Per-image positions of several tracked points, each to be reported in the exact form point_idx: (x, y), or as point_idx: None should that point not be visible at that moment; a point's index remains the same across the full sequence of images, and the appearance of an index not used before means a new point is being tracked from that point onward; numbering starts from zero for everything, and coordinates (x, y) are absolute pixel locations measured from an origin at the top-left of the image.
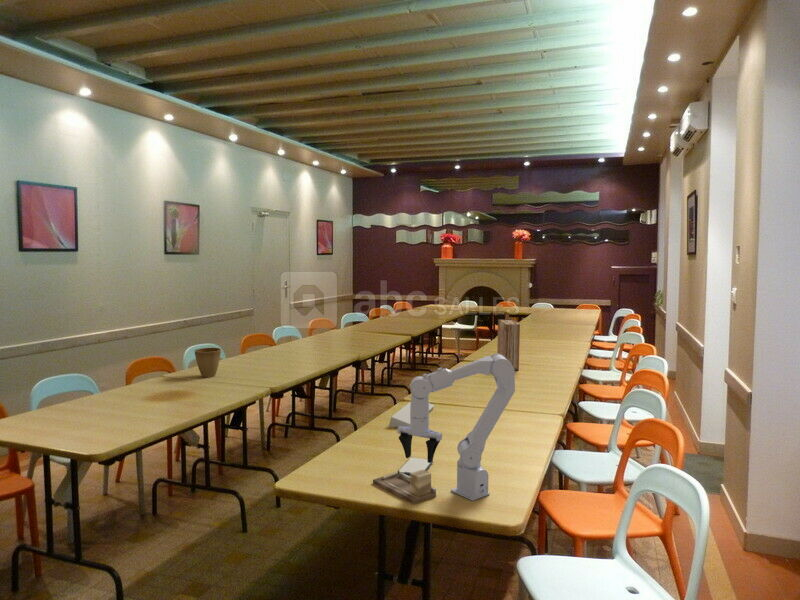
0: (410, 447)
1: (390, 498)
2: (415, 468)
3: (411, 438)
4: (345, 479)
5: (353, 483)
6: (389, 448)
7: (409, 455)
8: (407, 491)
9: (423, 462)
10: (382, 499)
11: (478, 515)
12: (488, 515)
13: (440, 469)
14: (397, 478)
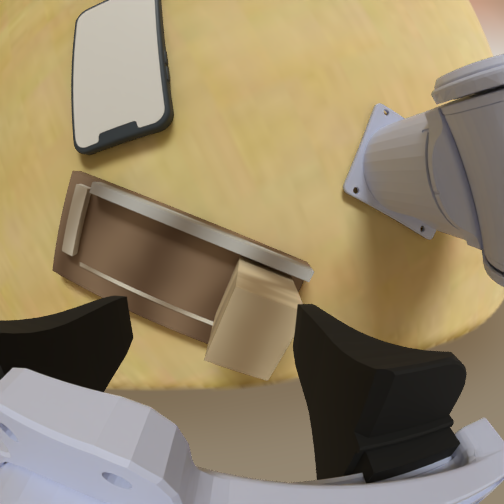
0: (91, 323)
1: (170, 347)
2: (120, 77)
3: (41, 345)
4: (7, 278)
5: (31, 293)
6: (19, 16)
7: (124, 319)
8: (202, 311)
9: (129, 15)
10: (155, 361)
11: (448, 315)
12: (466, 300)
13: (209, 13)
14: (104, 214)
